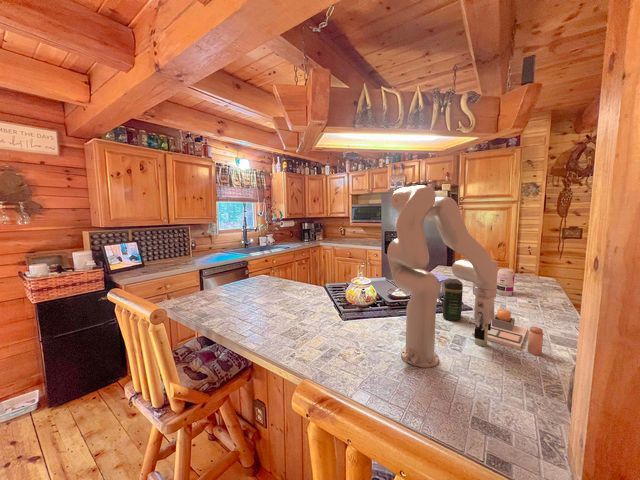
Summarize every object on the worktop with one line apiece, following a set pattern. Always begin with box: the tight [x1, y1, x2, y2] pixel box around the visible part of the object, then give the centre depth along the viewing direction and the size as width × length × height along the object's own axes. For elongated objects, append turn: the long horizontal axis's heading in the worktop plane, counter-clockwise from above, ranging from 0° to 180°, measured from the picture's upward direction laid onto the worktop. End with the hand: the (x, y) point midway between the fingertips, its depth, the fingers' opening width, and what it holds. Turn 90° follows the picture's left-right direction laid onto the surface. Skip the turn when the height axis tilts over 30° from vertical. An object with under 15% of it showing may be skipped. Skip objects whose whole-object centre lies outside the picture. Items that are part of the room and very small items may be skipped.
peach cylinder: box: [527, 326, 544, 356], centre depth 95 cm, size 4×4×9 cm
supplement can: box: [496, 267, 516, 297], centre depth 156 cm, size 8×8×15 cm
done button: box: [496, 308, 512, 322], centre depth 113 cm, size 5×5×4 cm
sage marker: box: [474, 320, 488, 347], centre depth 101 cm, size 4×4×9 cm
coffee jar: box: [442, 277, 464, 322], centre depth 125 cm, size 10×8×19 cm
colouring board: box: [471, 313, 529, 350], centre depth 110 cm, size 20×16×4 cm
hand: (482, 333), depth 101 cm, fingers open, 9 cm apart
